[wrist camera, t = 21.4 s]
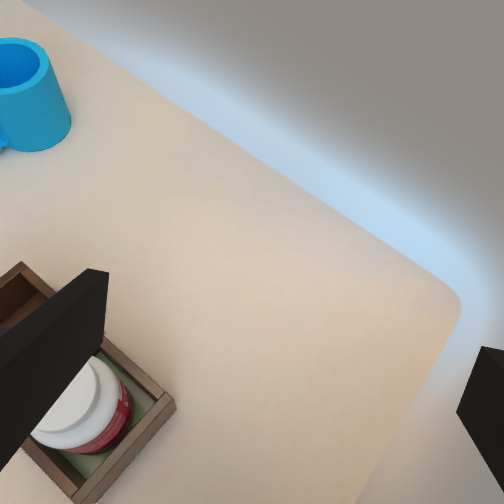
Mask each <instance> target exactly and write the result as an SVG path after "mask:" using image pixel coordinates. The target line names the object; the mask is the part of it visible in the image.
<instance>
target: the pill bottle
mask: <svg viewBox="0 0 504 504" xmlns="http://www.w3.org/2000/svg"><path fill="white" fill-rule="evenodd" d="M133 416H134V404H133V399H132V396H131V394H130V392H129V390H128V389H127V388H126V386H125V385H124V384H123V383H122V382H121V380H120V379H119V378H118V377H117V376H116V375H115V374H114V372H113V371H112V370H111V369H110V368H109V367H108V366H107V365H106V364H105V363H104V362H102V361H101V360H99V359H98V358H96V357H94V356H91V358H90V359H89V360H88V362H87V363H86V364H85V365H84V367H83V368H82V369H81V370H80V372H79V373H78V374H77V375H76V377H75V378H74V379H73V381H72V382H71V383H70V384H69V386H68V387H67V388H66V389H65V391H64V392H63V393H62V394H61V396H60V397H59V398H58V400H57V401H56V402H55V403H54V405H53V406H52V407H51V408H50V410H49V411H48V412H47V413H46V415H45V416H44V417H43V419H42V420H41V421H40V422H39V424H38V425H37V426H36V427H35V429H34V430H33V431H32V432H31V435H32V436H33V437H34V438H35V439H36V440H37V441H38V442H40V443H42V444H44V445H46V446H49V447H51V448H55V449H60V450H64V451H69V452H73V453H77V454H82V455H97V454H101V453H104V452H106V451H108V450H110V449H112V448H113V447H115V446H116V445H117V444H118V443H119V442H121V440H122V439H123V438H124V437H125V436H126V434H127V432H128V431H129V429H130V426H131V424H132V421H133Z"/></svg>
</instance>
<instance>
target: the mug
mask: <svg viewBox="0 0 504 504" xmlns="http://www.w3.org/2000/svg"><path fill="white" fill-rule="evenodd" d="M70 126H71V116H70V113H69V110H68V108H67V105H66V103H65V100H64V97H63V95H62V92H61V89H60V87H59V84H58V81H57V79H56V76H55V73H54V71H53V68H52V65H51V63H50V60H49V57H48V56H47V54H46V52H45V50H44V49H43V48H41V47H40V46H39V45H38V44H36V43H34V42H31V41H29V40H26V39H20V38H0V149H1V148H4V147H5V146H8V147H10V148H12V149H15V150H18V151H25V152H32V151H41V150H44V149H47V148H50V147H52V146H54V145H55V144H57V143H58V142H60V141H61V140H62V139H63V138H64V137H65V136H66V135H67V133H68V132H69V129H70Z"/></svg>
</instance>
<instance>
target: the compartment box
mask: <svg viewBox="0 0 504 504" xmlns="http://www.w3.org/2000/svg"><path fill="white" fill-rule="evenodd" d="M54 294H56V292H55V291H54V290H53V289H52V288H51V287H50V286H49V285H48V284H46V283H45V282H44V281H43V280H42V279H41V278H40V277H39V276H38V275H37V274H35V273H34V272H33V271H32V270H31V269H30V268H29V267H28V266H27V265H26V264H24V263H23V262H22V261H20V262H19V263H18V264H17V265H15V266H14V267H13V268H12V269H11V270H9V271H8V272H7V273H6V274H4V275H3V276H2V277H1V278H0V325H3V326H8V327H13V326H15V325H16V324H17V323H19V322H20V321H21V320H22V319H24V318H25V317H26V316H27V315H29V314H30V313H31V312H33V311H34V310H35V309H36V308H38V307H39V306H40V305H42V304H43V303H44V302H45V301H47V300H48V299H49V298H50V297H52V296H53V295H54ZM92 356H94V357H96V358H98V359H99V360H101V361H102V362H104V363H105V364H106V365H107V366H108V367H109V368H110V369H111V370H112V371H113V372H114V374H115V375H116V376H117V377H118V378H119V379H120V380H121V382H122V383H123V384H124V385H125V386H126V388H127V389H128V390H129V392H130V394H131V396H132V399H133V404H134V416H133V421H132V424H131V426H130V429H129V431H128V432H127V434H126V436H125V437H124V438H123V439H122V440H121V442H119V443H118V444H117V445H116V446H115V447H113V448H112V449H110V450H108V451H106V452H104V453H101V454H97V455H82V454H77V453H73V452H69V451H64V450H60V449H55V448H51V447H49V446H46V445H44V444H42V443H40V442H38V441H37V440H36V439H35V438H34V437H33V436H32V435H31V434H30V435H29V436H28V437H27V439H26V440H25V441H24V443H23V444H22V445H21V446H20V447H21V448H22V449H23V450H24V451H25V452H26V453H27V454H28V455H29V456H30V457H31V458H32V459H33V460H34V461H35V463H36V464H37V465H38V466H39V467H40V468H41V469H42V470H43V471H44V472H45V473H46V474H47V475H48V476H49V477H50V478H51V479H52V480H53V482H54V483H55V484H56V485H57V486H58V487H59V488H60V489H61V490H62V491H63V492H64V493H65V494H66V495H67V496H68V497H69V498H71V501H72V502H73V503H74V504H95V503H96V502H97V501H98V500H99V499H100V498H101V497H102V495H103V494H104V493H105V492H106V491H107V490H108V488H109V487H110V486H111V485H112V484H113V483H114V481H115V480H116V479H117V478H118V477H119V476H120V475H121V473H122V472H123V471H124V470H125V469H126V468H127V466H128V465H129V464H130V463H131V462H132V461H133V459H134V458H135V457H136V456H137V455H138V454H139V452H140V451H141V450H142V449H143V448H144V447H145V445H146V444H147V443H148V442H149V441H150V440H151V438H152V437H153V436H154V435H155V434H156V433H157V431H158V430H159V429H160V428H161V427H162V426H163V425H164V423H165V422H166V421H167V420H168V419H169V418H170V416H171V415H172V414H173V413H174V412H175V411H176V409H177V407H176V405H175V403H174V400H173V398H172V397H171V396H170V395H169V394H168V393H167V392H165V391H164V390H163V389H162V388H161V387H160V386H159V385H158V384H157V383H156V382H154V381H153V380H152V379H151V378H150V377H149V376H148V375H147V374H146V373H145V372H143V371H142V370H141V369H140V368H139V367H138V366H137V365H136V364H135V363H134V362H132V361H131V360H130V359H129V358H128V357H127V356H126V355H125V354H124V353H123V352H121V351H120V350H119V349H118V348H117V347H116V346H115V345H114V344H113V343H111V342H110V341H109V340H108V339H107V338H106V337H105V336H104V335H103V343H102V344H101V345H100V346H99V348H98V349H97V350H96V351H95V353H94V354H93V355H92Z"/></svg>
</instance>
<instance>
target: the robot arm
mask: <svg viewBox="0 0 504 504" xmlns="http://www.w3.org/2000/svg"><path fill="white" fill-rule="evenodd" d="M108 281H109V272H104V271H99V270H94V269H89V268H87V269H86V270H85V271H84V272H82V273H81V274H80V275H79V276H77V277H76V278H75V279H73V280H72V281H71V282H70V283H68V284H67V285H66V286H64V287H63V288H62V289H61V290H59V291H58V292H57V293H56V294H54V295H53V296H52V297H50V298H49V299H48V300H47V301H45V302H44V303H43V304H42V305H40V306H39V307H38V308H36V309H35V310H34V311H33V312H31V313H30V314H29V315H27V316H26V317H25V318H24V319H22V320H21V321H20V322H19V323H17V324H16V325H15V326H13V327H8V326H3V325H0V472H1V470H2V469H3V468H4V467H5V465H6V464H7V463H8V462H9V460H10V459H11V458H12V456H13V455H14V454H15V453H16V451H17V450H18V449H19V448H20V446H21V445H22V444H23V443H24V441H25V440H26V439H27V437H28V436H29V435H30V434H31V432H32V431H33V430H34V429H35V427H36V426H37V425H38V424H39V422H40V421H41V420H42V419H43V417H44V416H45V415H46V413H47V412H48V411H49V410H50V408H51V407H52V406H53V405H54V403H55V402H56V401H57V400H58V398H59V397H60V396H61V394H62V393H63V392H64V391H65V389H66V388H67V387H68V386H69V384H70V383H71V382H72V381H73V379H74V378H75V377H76V375H77V374H78V373H79V372H80V370H81V369H82V368H83V367H84V365H85V364H86V363H87V362H88V360H89V359H90V358H91V356H92V355H93V354H94V353H95V351H96V350H97V349H98V348H99V346H100V345H101V344H102V343H103V334H104V323H105V313H106V302H107V292H108ZM456 413H457V415H458V416H459V418H460V419H461V421H462V423H463V425H464V426H465V428H466V430H467V431H468V433H469V435H470V436H471V438H472V440H473V441H474V443H475V445H476V446H477V448H478V450H479V452H480V453H481V455H482V456H483V458H484V460H485V462H486V463H487V465H488V467H489V468H490V470H491V472H492V474H493V475H494V477H495V478H496V480H497V482H498V484H499V485H500V487H501V489H502V490H503V492H504V350H499V349H494V348H489V347H484V346H481V349H480V352H479V354H478V356H477V359H476V362H475V365H474V367H473V369H472V372H471V375H470V377H469V380H468V382H467V385H466V388H465V390H464V393H463V395H462V398H461V401H460V403H459V406H458V408H457V411H456Z"/></svg>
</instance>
